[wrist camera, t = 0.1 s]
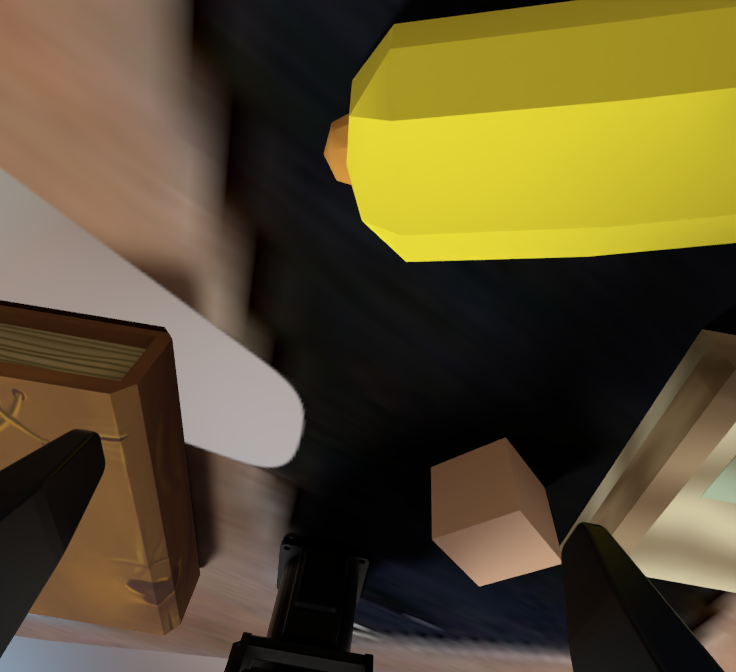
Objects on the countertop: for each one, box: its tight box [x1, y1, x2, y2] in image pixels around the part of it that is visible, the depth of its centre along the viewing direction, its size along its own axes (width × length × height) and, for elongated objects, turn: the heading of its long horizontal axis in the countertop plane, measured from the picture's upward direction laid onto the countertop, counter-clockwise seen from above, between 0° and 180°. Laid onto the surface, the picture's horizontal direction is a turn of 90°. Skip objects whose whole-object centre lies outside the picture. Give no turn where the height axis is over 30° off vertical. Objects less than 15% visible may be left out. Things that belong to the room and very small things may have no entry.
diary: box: [0, 300, 200, 635], centre depth 30 cm, size 23×19×6 cm
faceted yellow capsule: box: [324, 0, 736, 262], centre depth 16 cm, size 18×7×8 cm
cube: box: [431, 437, 561, 586], centre depth 28 cm, size 5×5×5 cm
